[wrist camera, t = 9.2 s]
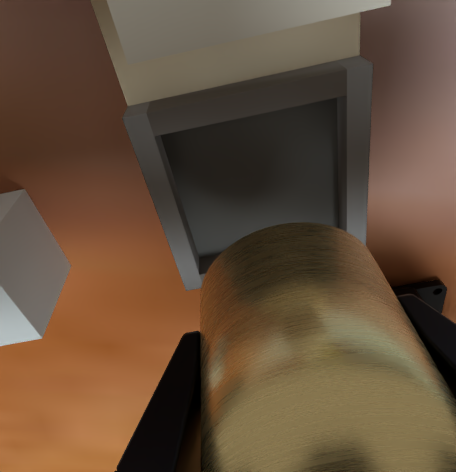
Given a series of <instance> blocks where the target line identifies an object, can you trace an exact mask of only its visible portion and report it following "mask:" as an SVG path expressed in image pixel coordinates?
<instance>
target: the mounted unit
mask: <svg viewBox="0 0 456 472" xmlns="http://www.w3.org/2000/svg"><path fill="white" fill-rule="evenodd" d="M90 1H91V4H92V7H93V9H94V12H95V15H96V18H97V21H98V23H99V26H100V29H101V32H102V35H103V38H104V40H105V43H106V46H107V49H108V52H109V55H110V57H111V60H112V63H113V66H114V69H115V71H116V74H117V77H118V80H119V83H120V86H121V88H122V91H123V94H124V97H125V100H126V102H127V105H128V107H127V109H126V111H125V113H124V115H123V118H122V119H123V122H124V124H125V127H126V130H127V133H128V135H129V138H130V141H131V143H132V146H133V149H134V151H135V154H136V157H137V160H138V162H139V165H140V168H141V170H142V173H143V176H144V178H145V181H146V184H147V187H148V189H149V192H150V195H151V197H152V200H153V203H154V205H155V208H156V211H157V213H158V216H159V219H160V222H161V224H162V227H163V230H164V232H165V235H166V238H167V240H168V243H169V246H170V249H171V251H172V254H173V257H174V259H175V262H176V265H177V267H178V270H179V273H180V276H181V278H182V281H183V284H184V286H185V289H186V291H188V290H193V289H199V288H201V286H202V283H203V280H204V277H205V275H206V273H207V271H208V269H209V267H210V266H211V265H212V263H213V262H214V260H215V259H216V258H217V257H218V256H219V255H220V254H221V253H222V252H223V251H224V250H225V249H227V248H228V247H229V246H230V245H232V244H233V243H235V242H236V241H238V240H239V239H241V238H243V237H245V236H247V235H249V234H251V233H253V232H256V231H258V230H261V229H264V228H267V227H271V226H275V225H279V224H286V223H297V222H309V223H320V224H325V225H330V226H333V227H336V228H339V229H342V230H344V231H346V232H348V233H350V234H352V235H353V236H355V237H356V238H357V239H359V240H360V241H361V242H362V243H363V244H364V245H365V246H366V227H367V202H368V177H369V152H370V127H371V103H372V78H373V63H371V62H370V61H368V60H366V59H365V58H363V57H362V56H360V12H363V11H368V10H372V9H377V8H381V7H385V6H390V5H391V0H90Z"/></svg>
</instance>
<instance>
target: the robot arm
mask: <svg viewBox="0 0 456 472" xmlns="http://www.w3.org/2000/svg"><path fill="white" fill-rule="evenodd" d="M392 290H393V292H394V294H395V295H396V297H397V299H398V301H399V302H400V304H401V306H402V307H403V309H404V311H405V313H406V314H407V316H408V318H409V319H410V321H411V323H412V325H413V326H414V328H415V330H416V332H417V333H418V335H419V337H420V338H421V340H422V342H423V344H424V345H425V347H426V349H427V351H428V352H429V354H430V356H431V357H432V359H433V361H434V363H435V364H436V366H437V368H438V369H439V371H440V373H441V375H442V376H443V378H444V380H445V382H446V383H447V385H448V387H449V388H450V390H451V392H452V394H453V395H454V397H455V399H456V324H455V323H454V322H452V321H451V320H449V319H448V318H446V317H445V316H444V315H442V314H441V313H442V309H443V304H444V300H445V296H446V291H447V287H446V286H445V285H444V283H443V282H442V281H440V280H433V281H427V282H422V283H416V284H411V285H405V286H399V287H394V288H392ZM114 472H201V335H200V332H199V331H194V332H189V333H185V334H184V335H183V336H182V338H181V340H180V342H179V344H178V346H177V348H176V350H175V352H174V354H173V356H172V358H171V360H170V362H169V364H168V366H167V368H166V370H165V372H164V374H163V376H162V378H161V380H160V382H159V384H158V386H157V388H156V390H155V392H154V394H153V396H152V398H151V400H150V402H149V404H148V406H147V408H146V410H145V412H144V414H143V416H142V418H141V420H140V422H139V424H138V426H137V428H136V430H135V432H134V434H133V436H132V438H131V440H130V442H129V444H128V446H127V448H126V450H125V452H124V454H123V456H122V458H121V460H120V462H119V464H118V466H117V471H114Z"/></svg>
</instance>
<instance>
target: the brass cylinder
mask: <svg viewBox="0 0 456 472" xmlns="http://www.w3.org/2000/svg"><path fill="white" fill-rule="evenodd" d="M200 335H201V472H456V399H455V397H454V395H453V394H452V392H451V390H450V388H449V387H448V385H447V383H446V382H445V380H444V378H443V376H442V375H441V373H440V371H439V369H438V368H437V366H436V364H435V363H434V361H433V359H432V357H431V356H430V354H429V352H428V351H427V349H426V347H425V345H424V344H423V342H422V340H421V338H420V337H419V335H418V333H417V332H416V330H415V328H414V326H413V325H412V323H411V321H410V319H409V318H408V316H407V314H406V313H405V311H404V309H403V307H402V306H401V304H400V302H399V301H398V299H397V297H396V295H395V294H394V292H393V290H392V288H391V287H390V285H389V283H388V282H387V280H386V278H385V276H384V275H383V273H382V271H381V269H380V268H379V266H378V264H377V263H376V261H375V259H374V257H373V256H372V254H371V253H370V251H369V250H368V248H367V247H366V246H365V245H364V244H363V243H362V242H361V241H360V240H359V239H357V238H356V237H355V236H353V235H352V234H350V233H348V232H346V231H344V230H342V229H339V228H336V227H333V226H330V225H325V224H320V223H309V222H297V223H286V224H279V225H275V226H271V227H267V228H264V229H261V230H258V231H256V232H253V233H251V234H249V235H247V236H245V237H243V238H241V239H239V240H238V241H236V242H235V243H233V244H232V245H230V246H229V247H228V248H227V249H225V250H224V251H223V252H222V253H221V254H220V255H219V256H218V257H217V258H216V259H215V260H214V262H213V263H212V265H211V266H210V267H209V269H208V271H207V273H206V275H205V277H204V280H203V283H202V286H201V294H200Z"/></svg>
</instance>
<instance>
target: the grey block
mask: <svg viewBox="0 0 456 472" xmlns="http://www.w3.org/2000/svg"><path fill="white" fill-rule="evenodd" d="M70 268H71V265H70V263H69V261H68V260H67V258H66V256H65V255H64V253H63V251H62V250H61V248H60V246H59V245H58V243H57V241H56V240H55V238H54V236H53V235H52V233H51V231H50V230H49V228H48V226H47V225H46V223H45V221H44V220H43V218H42V217H41V215H40V213H39V212H38V210H37V208H36V207H35V205H34V203H33V202H32V200H31V198H30V197H29V195H28V193H27V192H26V190H25V189H22V190H17V191H12V192H7V193H2V194H0V346H3V345H8V344H14V343H19V342H25V341H30V340H36V339H41V338H43V335H44V333H45V330H46V328H47V325H48V323H49V320H50V318H51V315H52V313H53V310H54V308H55V305H56V303H57V300H58V298H59V295H60V293H61V290H62V288H63V285H64V283H65V280H66V278H67V275H68V273H69V270H70Z"/></svg>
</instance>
